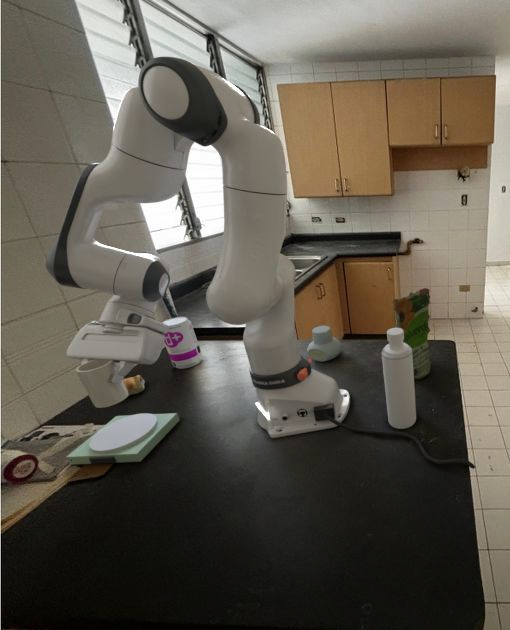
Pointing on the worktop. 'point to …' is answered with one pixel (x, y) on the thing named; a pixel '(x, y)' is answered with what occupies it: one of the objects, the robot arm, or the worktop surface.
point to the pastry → (134, 384)
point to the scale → (124, 439)
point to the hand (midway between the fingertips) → (100, 382)
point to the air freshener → (323, 344)
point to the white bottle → (399, 380)
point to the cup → (101, 382)
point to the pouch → (415, 328)
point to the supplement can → (182, 343)
